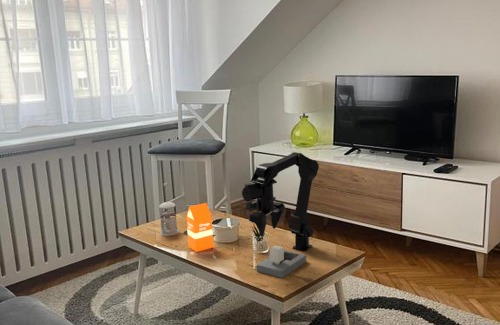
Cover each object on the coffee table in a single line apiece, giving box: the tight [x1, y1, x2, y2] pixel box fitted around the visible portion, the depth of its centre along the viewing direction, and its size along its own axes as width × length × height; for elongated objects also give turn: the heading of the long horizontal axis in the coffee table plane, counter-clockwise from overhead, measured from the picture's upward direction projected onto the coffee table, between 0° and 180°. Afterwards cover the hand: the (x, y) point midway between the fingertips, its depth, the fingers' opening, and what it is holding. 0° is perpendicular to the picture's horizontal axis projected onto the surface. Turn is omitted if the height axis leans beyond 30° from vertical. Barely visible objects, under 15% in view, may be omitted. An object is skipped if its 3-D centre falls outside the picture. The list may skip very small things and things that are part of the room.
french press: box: [158, 182, 180, 237], centre depth 251 cm, size 10×12×25 cm
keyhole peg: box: [269, 245, 285, 265], centre depth 204 cm, size 5×5×9 cm
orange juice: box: [186, 202, 214, 253], centre depth 230 cm, size 8×9×20 cm
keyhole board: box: [256, 249, 307, 279], centre depth 207 cm, size 18×12×3 cm, turn 143°
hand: (268, 232), depth 210 cm, fingers open, 9 cm apart
